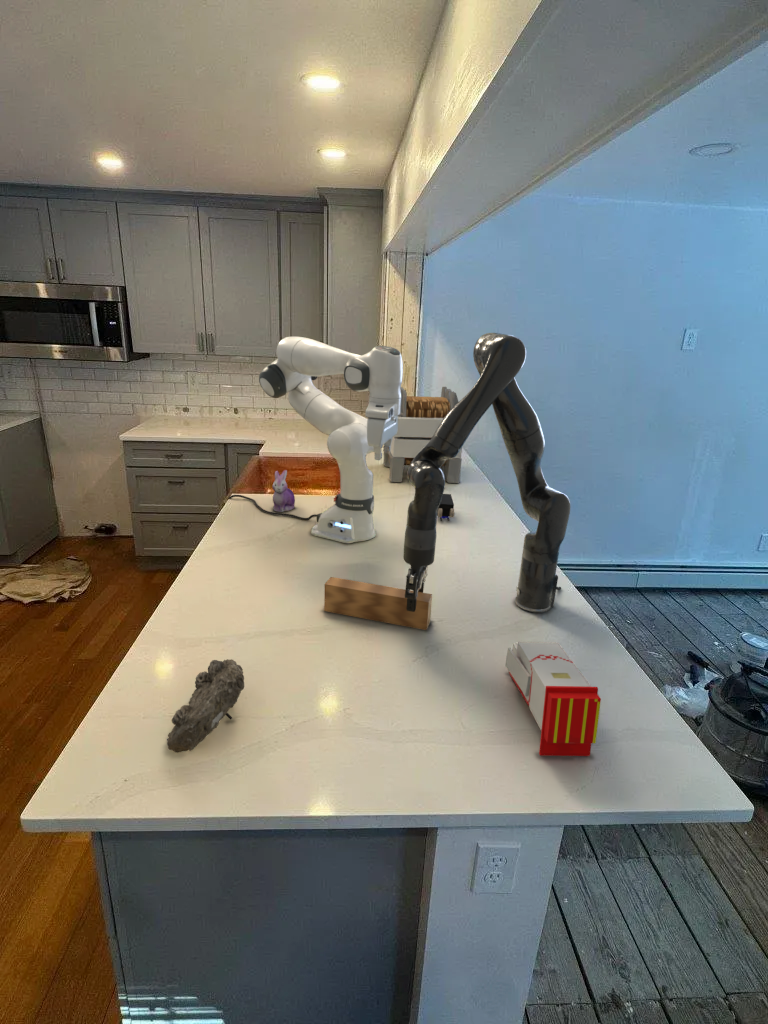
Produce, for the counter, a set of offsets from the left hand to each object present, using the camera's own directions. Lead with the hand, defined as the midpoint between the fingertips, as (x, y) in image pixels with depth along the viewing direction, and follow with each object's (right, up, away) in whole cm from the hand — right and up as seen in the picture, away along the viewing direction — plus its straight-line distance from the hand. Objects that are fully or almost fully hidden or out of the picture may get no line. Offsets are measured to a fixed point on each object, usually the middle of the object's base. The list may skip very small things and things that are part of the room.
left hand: (382, 455), depth 162 cm
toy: (+33, -56, -47) cm, 80 cm away
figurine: (-38, -15, +57) cm, 70 cm away
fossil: (-32, -55, -54) cm, 84 cm away
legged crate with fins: (+18, +3, +113) cm, 114 cm away
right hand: (+8, -39, -21) cm, 45 cm away
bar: (-1, -43, -16) cm, 46 cm away
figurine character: (+23, -18, +56) cm, 63 cm away
